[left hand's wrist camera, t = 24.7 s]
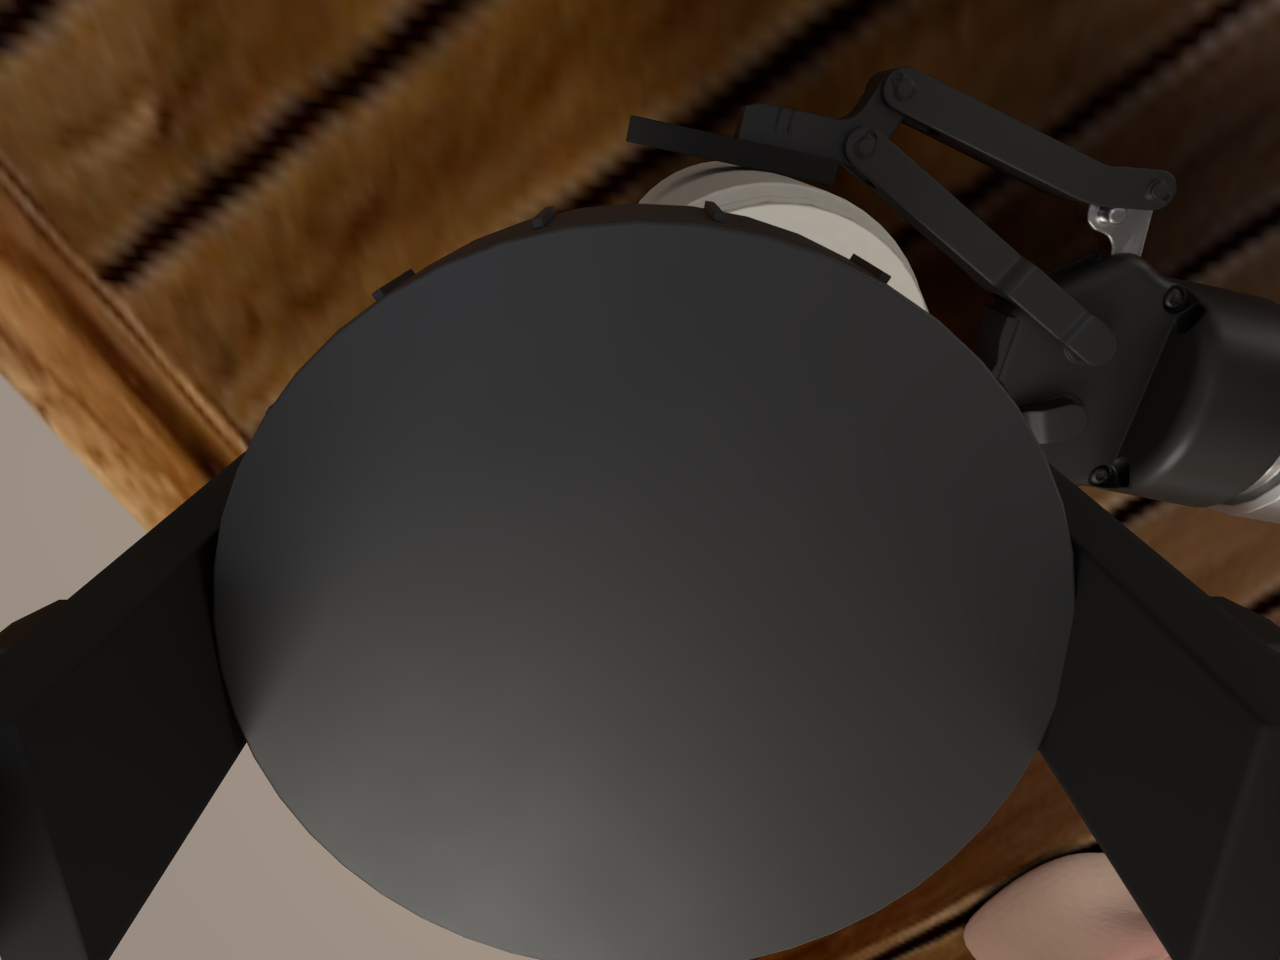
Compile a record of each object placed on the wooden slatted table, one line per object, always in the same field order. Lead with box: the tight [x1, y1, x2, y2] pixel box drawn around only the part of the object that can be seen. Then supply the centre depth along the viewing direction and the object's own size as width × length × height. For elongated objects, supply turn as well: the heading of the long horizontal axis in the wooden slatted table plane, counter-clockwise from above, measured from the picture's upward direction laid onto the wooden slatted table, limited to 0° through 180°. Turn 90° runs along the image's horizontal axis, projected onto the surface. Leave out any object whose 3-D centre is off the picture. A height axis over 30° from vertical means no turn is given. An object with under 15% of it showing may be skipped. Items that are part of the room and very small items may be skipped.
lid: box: [213, 201, 1076, 960], centre depth 11 cm, size 10×10×2 cm
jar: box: [639, 161, 929, 313], centre depth 29 cm, size 9×9×15 cm
